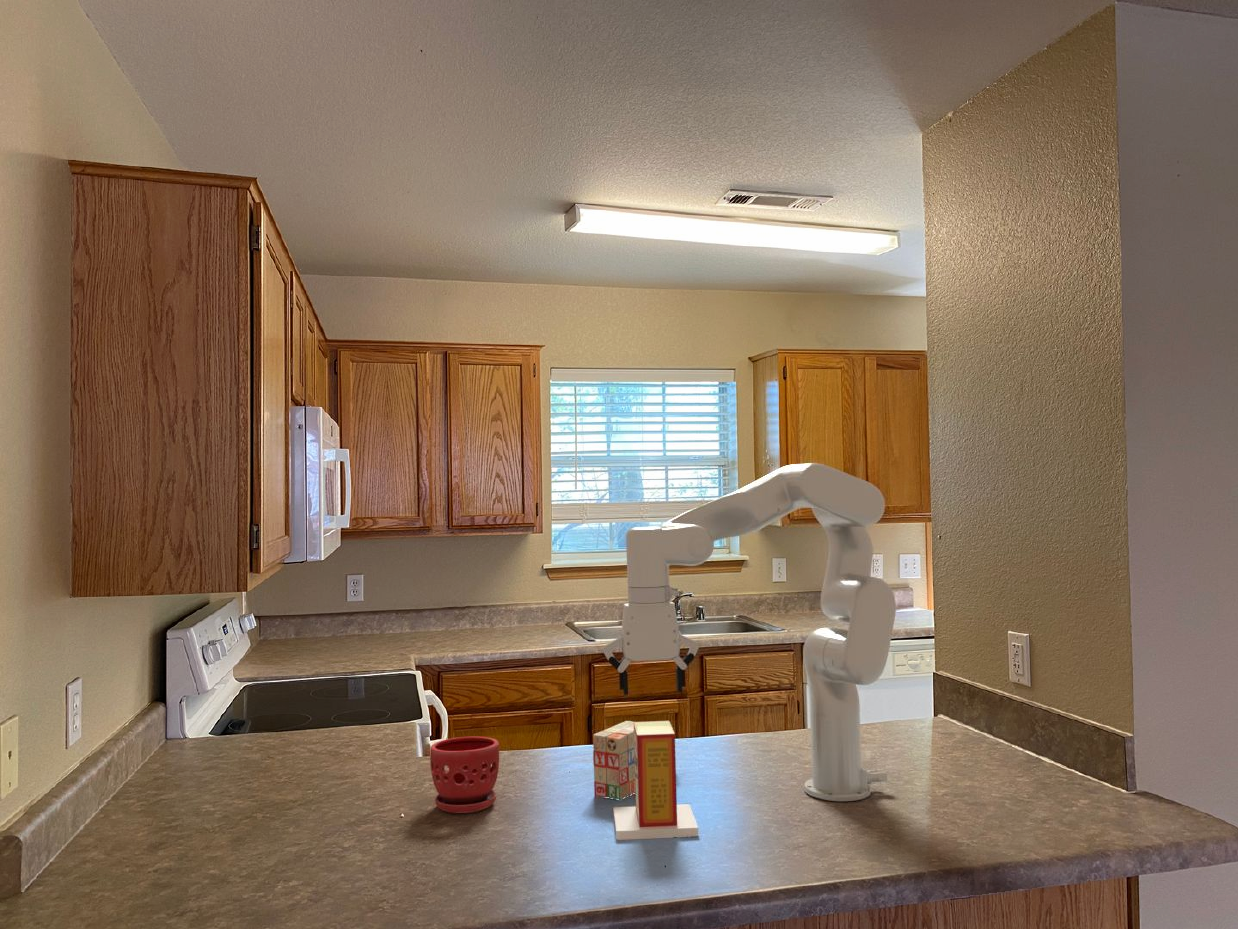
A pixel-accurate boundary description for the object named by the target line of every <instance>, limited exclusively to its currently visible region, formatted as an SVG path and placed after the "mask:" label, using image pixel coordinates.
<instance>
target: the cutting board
mask: <svg viewBox="0 0 1238 929" xmlns="http://www.w3.org/2000/svg"><path fill="white" fill-rule="evenodd" d="M612 810H613V822H614V830H615V837H616V838H615V839H616V841H628V840H629V841H630V840H631V841H632V840H649V839H653V838H654V839H672V838H673V837H677V838H692V837H691V836H699V826H698V823H697V821H696V818H695V815H694V813H693V811H692V808H691V804H690V803H686V804H685V803H684V804H677V826H658V827H639V822H638V817H637V812H636V805H634V806H616V807H615V806H613V809H612ZM687 836H688V837H687Z"/></svg>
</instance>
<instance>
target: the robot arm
mask: <svg viewBox="0 0 1238 929" xmlns="http://www.w3.org/2000/svg"><path fill="white" fill-rule="evenodd" d="M803 508H804V509H811V510H812V513H813V515H814V517H815V518H816V521H818V523H819V524H820V525H821V527H822V529H823V531H824V532H825V534H826V536H827V540H828V548H829V549H828V556H827V564H826V567H825V574H824V578H823V579H824V580H823V584H822V588H821V592H820V593H821V594H820V602H819V603H820V604H819V605H820V609H821V611H822V613H823V614H824V615H825V616H826V617H827V618H829V619H831V620H833V621H835V622H840V623H845V624H848V627H847V628H848V629H843V628H837V627H829V626H827V627H820V628H817V629H815V630H813V631H812V632H811V633H809V635H808V636H807V638H806V639H805V641H804V643H803V648H802V649H803V650H802V656H803V657H802V658H803V663H804V667H805V673H806V677H807V684H808V693H809V694H808V695H809V724H810V726H809V727H810V752H811V753H810V754H811V758H810V759H811V778H810V779H807V780H806V781H805V782H804V783H803V785H804V786H803V787H804V792H805V793H806V794H807V795H809V796H811V797H814V798H817V799H820V800H823V801H829V802H830V801H832V802H855V801H860V800H864V799H867V798H868V797H870V796H871V793H872V787H871V785H872V783H887V782H888V774H887V772H886V771H877V770H876V769H865V768H864V767H863V766H862V765H863V764H862V742H861V741H862V738H861V736H862V735H861V704H860V695H859V692H858V688H857V685H858V686H869V685H871V684H874V683H875V682H877V680H879V678H880V677H881V676H882V675H883V673H884V670H885V668H886V665H887V661H888V656H889V652H890V646H891V641H892V636H893V635H892V634H893V630H894V625H895V618H896V612H897V611H896V610H897V607H896V606H897V605H896V604H897V603H896V598H895V594H894V592H893V590H892V588H891V586H890V585H889V584H888V583H887V582H886V581H885V580H883V579H881V578H878V577H875V576H871V573H872V566H873V565H872V564H873V556H874V553H873V552H874V549H873V548H874V546H873V542H872V539H871V537H870V534H869V531H868V529H867V527H871V526H873V525H875V524H877V523H878V522H879V521H880V520H881V519H882V517H883V515H884V512H885V508H886V501H885V498H884V496H883V493H882V492H881V490H880V489H879V488H878V487H877V486H876V485H874V484H873V483H871V482H869V481H867V480H865V479H862V478H859V477H856V476H854V475H851V474H849V473H847V472H844V471H841V470H839V469H837V468H833V467H832V466H829V465H825V464H822V463H818V462H808V463H796V464H795V463H794V464H793V463H792V464H789V465H788V464H787V465H785V466H782V467H780V468H778V469H776V470H774V471H772V472H770V473H768V474H766V475H764V476H763V477H761V478H759V479H757V480H755V481H753V482H751V483H750V484H747V485H745V486H743V487H742V488H740V489H737V490H735V491H733V492H731V493H727V494H725V495H722V496H720V497H719V498H718V497H717V498H716V499H714V500H712V501H709V502H707V503H704V504H701V505H699V506H696V507H694V508H691V509H690V510H687V511H685V512H684V513H681V514H680V515H677V516H676V517H674V518H672V519H670V520H668V521H666V522H664V523H662V524H661V525H660V526H642V527H641V526H640V527H639V526H638V527H632V528H630V529H628V530H627V531H626V536H625V545H626V546H625V549H626V570H627V571H626V573H627V603H624V604H623V608H622V609H623V610H622V617H621V618H622V621H621V622H622V623H621V636H619V637H617V638H616V639H614V640H612V641H610V642H609V643H607V644H605V645H603V647H602V652H603V654H604V655H605V657H606V659H607V660H608V663H609V664H610V665H611V666H612V667H613V668H614V669H616V671H617V672H618V686H619V690H623V692H622V693H623V696H627V695H629V684H628V683H629V680H628V670H627V668H628V666H629V665H630V664H631V662H652V661H653V662H654V661H656V662H657V661H670V660H672V661H673V662H674V663H675V664H676V668H675V680H676V681H675V684H676V685H675V686H676V691H677V693H680V694H681V693H683V687H685V688H686V669H687V668H688V666H689V665H690V664H691V663H692V661H694V660H695V657H696V654H697V653H698V650H699V649H700V644H699V642H697V641H695V640H693V639H691V638H690V637H687V636H685V635H683V634H680V633H679V631H680V630H679V625H678V624H679V623H678V619H677V611H676V610H677V609H676V607H675V603H674V602H673V601H671V599H672V598H674V597H677V596H678V595H679V589H678V588H674V587H671V586H670V585H671V584H670V566H672V565H674V566H675V565H677V566H686V567H694V566H699V565H701V564H703V563H705V562H706V561H708V560H709V558H711V556H712V554H713V551H714V548H715V542H717V541H720V540H723V539H728V538H734V537H736V538H737V537H741V536H742V537H743V536H746V535H749V534H752V533H755V532H758V531H760V530H761V529H763V528H765V527H767V526H769V525H771V524H773V523H774V522H776V521H778V520H780V519H781V518H783V517H785V516H787V515H789V514H791V513H792V512H794V511H796V510H799V509H803ZM680 644H683V645H685V646H688V647H689V649H688V652H687V653H686V654H685V655H684V656H683V658H682V657H681V656H680V652H681V646H680ZM619 647H621V650H622V651H621V652H622V655H623V657H622V658H621V659H620V660H618V659H617V658H616V657H615V656H614V654H613V651H614V650H615V649H617V648H619Z"/></svg>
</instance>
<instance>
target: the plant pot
mask: <svg viewBox="0 0 1238 929" xmlns="http://www.w3.org/2000/svg"><path fill="white" fill-rule="evenodd" d="M429 749H430V752H429V758H430V759H429V761H430V769H431V770H430V771H431V779H432V781H433V785H434V787H435V790H436V792H437V796H436V797H435V799H434V803H435V805H436V806H437V807H438V808H439V809H440V810H441V811H445V812H448V813H451V814H468V813H472V814H473V813H474V812H475V813H477V812H478V811H481V810H484V809H487V808H489V807H491V805H493V804H494V803H495V801H496V799H497V792H496V791H495V790H494V787H495V785H496V782H497V778H498V774H499V768H500V744H499V741H498V740H497V739H495V738H493V737H487V736H461V737H452V738H447V739H443V740H440V741H437V742H435V743H433V744H431V746H430V748H429ZM445 767H447V768H448V771H446V768H445Z"/></svg>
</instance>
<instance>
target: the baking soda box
mask: <svg viewBox="0 0 1238 929" xmlns="http://www.w3.org/2000/svg"><path fill="white" fill-rule="evenodd" d="M633 722H634V759H635V794H634V796H635V799H634V800H635V806H636V812H637V817H638V822H639V827H658V826H677V805H678V803H677V802H678V800H677V798H678V797H677V796H678V795H677V765H676V762H677V760H676V758H677V757H676V733H675V731H674V728H673V727H672V726H673V725H672V724H671V722H670V720H655V721H653V720H652V721H651V720H650V721H633Z"/></svg>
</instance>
